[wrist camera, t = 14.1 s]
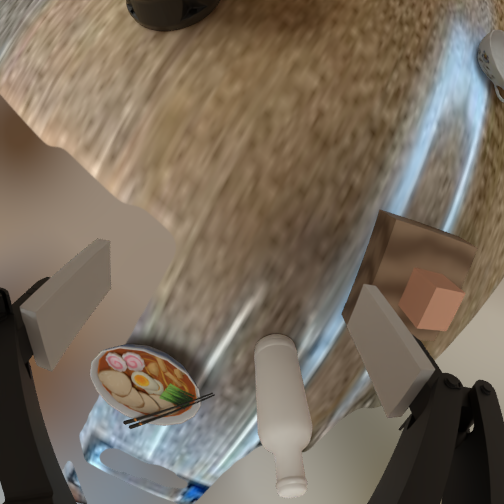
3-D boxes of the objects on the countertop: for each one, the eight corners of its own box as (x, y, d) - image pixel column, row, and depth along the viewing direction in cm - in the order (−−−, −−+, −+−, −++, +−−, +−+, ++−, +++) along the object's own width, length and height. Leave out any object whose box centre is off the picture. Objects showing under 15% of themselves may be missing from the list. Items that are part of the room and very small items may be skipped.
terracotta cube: (414, 267, 42) (436, 287, 35) (442, 274, 42) (465, 293, 36) (398, 305, 44) (416, 328, 38) (426, 309, 45) (446, 331, 38)
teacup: (462, 26, 31) (486, 18, 23) (501, 50, 31) (525, 46, 24) (468, 92, 36) (495, 90, 29) (505, 111, 37) (532, 113, 29)
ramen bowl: (159, 301, 50) (146, 328, 42) (231, 381, 57) (230, 410, 49) (81, 348, 54) (66, 372, 47) (148, 411, 61) (141, 436, 54)
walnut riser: (379, 209, 45) (396, 219, 39) (459, 237, 46) (477, 248, 41) (341, 314, 51) (350, 333, 46) (421, 324, 53) (434, 340, 48)
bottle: (251, 335, 53) (256, 487, 25) (294, 329, 52) (326, 477, 24) (256, 366, 56) (263, 505, 28) (296, 361, 55) (323, 497, 27)
